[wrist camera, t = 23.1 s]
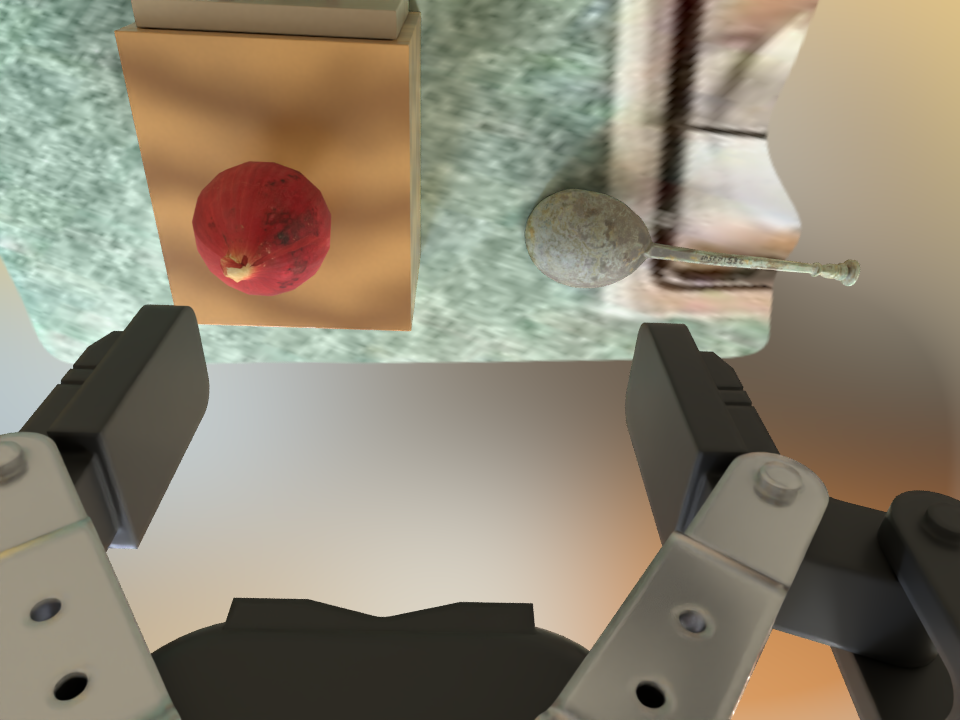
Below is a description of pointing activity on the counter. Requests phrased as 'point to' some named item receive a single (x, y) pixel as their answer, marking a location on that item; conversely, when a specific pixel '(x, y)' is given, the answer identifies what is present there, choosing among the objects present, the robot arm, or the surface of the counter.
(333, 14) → the drawer
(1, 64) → the counter surface
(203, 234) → the onion
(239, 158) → the cabinet
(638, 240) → the soupspoon
